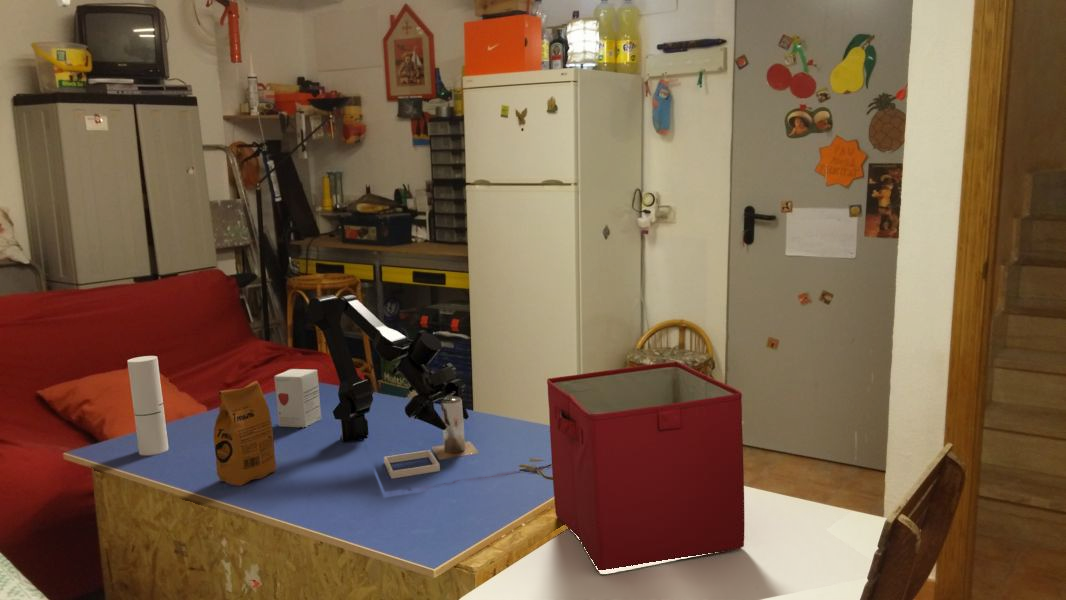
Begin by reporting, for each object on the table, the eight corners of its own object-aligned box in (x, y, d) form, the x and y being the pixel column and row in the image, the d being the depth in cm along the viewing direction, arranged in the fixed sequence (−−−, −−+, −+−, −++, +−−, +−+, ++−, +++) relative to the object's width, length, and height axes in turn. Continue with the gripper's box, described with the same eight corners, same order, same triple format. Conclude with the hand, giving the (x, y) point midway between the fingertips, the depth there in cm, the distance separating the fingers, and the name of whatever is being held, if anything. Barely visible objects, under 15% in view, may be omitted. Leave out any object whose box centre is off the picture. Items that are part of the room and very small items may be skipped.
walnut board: (439, 463, 198) (439, 459, 198) (431, 450, 208) (431, 447, 208) (479, 457, 201) (479, 453, 201) (469, 445, 211) (469, 441, 211)
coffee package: (211, 481, 194) (201, 390, 191) (256, 464, 204) (247, 378, 201) (236, 488, 189) (226, 395, 185) (282, 471, 198) (273, 382, 195)
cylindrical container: (173, 446, 223) (162, 355, 219) (159, 455, 215) (147, 361, 212) (148, 446, 223) (137, 356, 219) (133, 455, 216) (121, 362, 212)
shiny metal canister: (446, 454, 201) (442, 403, 199) (442, 448, 206) (438, 398, 204) (467, 451, 203) (463, 400, 201) (462, 445, 208) (459, 395, 206)
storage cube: (589, 581, 138) (581, 414, 133) (543, 518, 164) (536, 376, 160) (761, 549, 146) (759, 391, 142) (691, 494, 172) (688, 358, 168)
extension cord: (551, 457, 200) (550, 449, 200) (600, 471, 189) (599, 463, 189) (514, 471, 192) (514, 463, 192) (563, 487, 181) (563, 478, 180)
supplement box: (277, 427, 235) (272, 375, 233) (295, 417, 244) (290, 368, 242) (305, 428, 233) (300, 376, 230) (322, 418, 241) (317, 368, 239)
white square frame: (391, 482, 187) (390, 472, 187) (384, 466, 198) (383, 456, 198) (440, 474, 191) (439, 464, 190) (430, 459, 201) (430, 449, 201)
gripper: (410, 364, 195) (451, 413, 191) (456, 347, 211) (495, 393, 207) (387, 393, 200) (426, 442, 196) (434, 375, 216) (471, 420, 212)
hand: (456, 423), depth 203 cm, fingers open, 9 cm apart
